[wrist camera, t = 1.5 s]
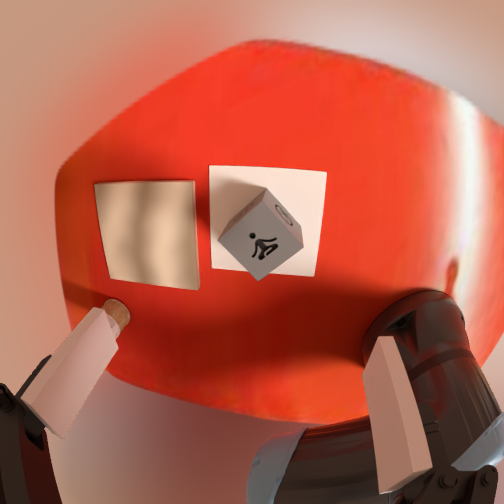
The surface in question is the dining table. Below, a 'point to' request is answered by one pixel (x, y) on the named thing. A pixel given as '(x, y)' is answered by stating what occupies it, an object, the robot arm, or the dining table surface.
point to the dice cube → (262, 235)
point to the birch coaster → (150, 231)
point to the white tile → (285, 191)
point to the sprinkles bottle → (116, 315)
